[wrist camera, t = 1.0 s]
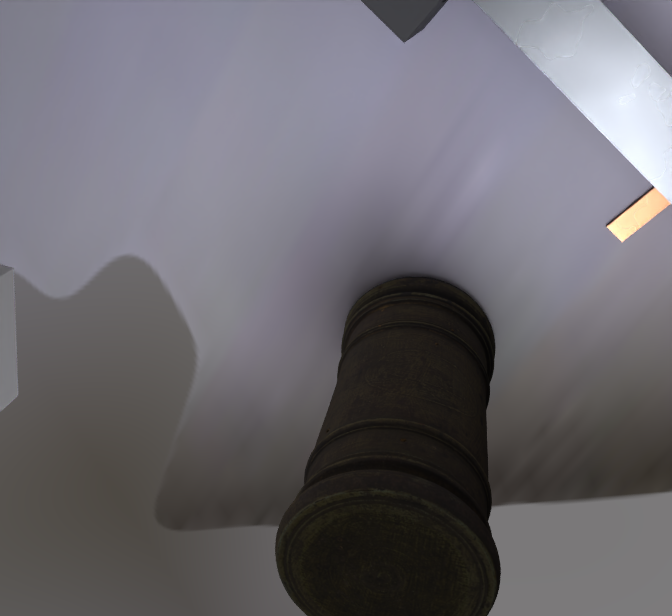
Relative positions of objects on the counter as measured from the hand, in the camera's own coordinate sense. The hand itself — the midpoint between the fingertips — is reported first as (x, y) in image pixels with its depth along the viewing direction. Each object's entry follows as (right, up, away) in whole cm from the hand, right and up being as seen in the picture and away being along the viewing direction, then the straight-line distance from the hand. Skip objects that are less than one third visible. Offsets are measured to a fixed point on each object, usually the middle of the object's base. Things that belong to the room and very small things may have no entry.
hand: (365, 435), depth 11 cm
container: (+5, 0, +28) cm, 29 cm away
